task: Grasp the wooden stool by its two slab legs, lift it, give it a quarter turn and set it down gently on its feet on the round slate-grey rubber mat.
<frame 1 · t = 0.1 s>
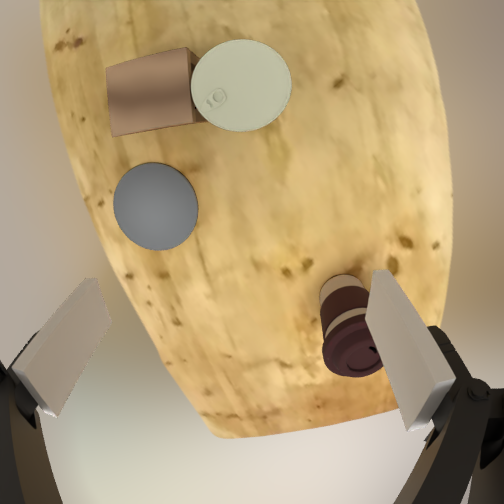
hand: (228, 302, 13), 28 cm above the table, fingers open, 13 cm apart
wooden stool: (174, 97, 34), on the table
coffee cup: (340, 292, 46), on the table
rubber mat: (154, 207, 40), on the table
can: (247, 94, 34), on the table
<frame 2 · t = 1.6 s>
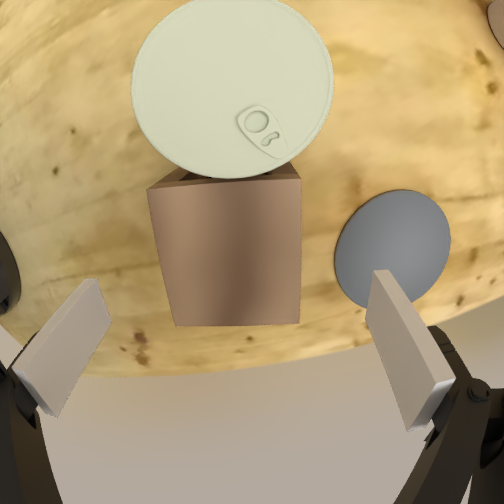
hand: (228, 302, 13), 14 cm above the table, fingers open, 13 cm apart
wooden stool: (239, 208, 25), on the table
rubber mat: (396, 253, 27), on the table
can: (243, 97, 21), on the table
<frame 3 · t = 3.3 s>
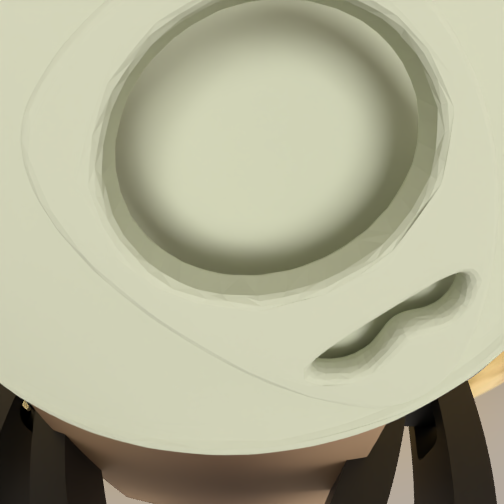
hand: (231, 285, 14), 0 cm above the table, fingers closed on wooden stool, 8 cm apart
wooden stool: (232, 281, 15), on the table, touching gripper
can: (236, 79, 11), on the table
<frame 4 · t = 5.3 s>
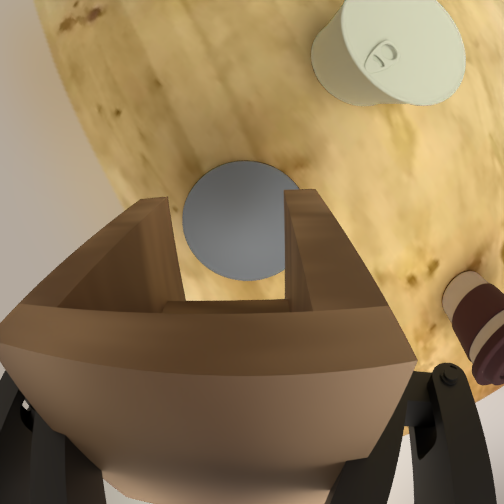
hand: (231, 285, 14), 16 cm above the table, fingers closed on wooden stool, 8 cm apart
wooden stool: (232, 281, 15), point 16 cm above the table, touching gripper
coffee cup: (460, 291, 34), on the table
rubber mat: (245, 223, 30), on the table
can: (357, 62, 23), on the table
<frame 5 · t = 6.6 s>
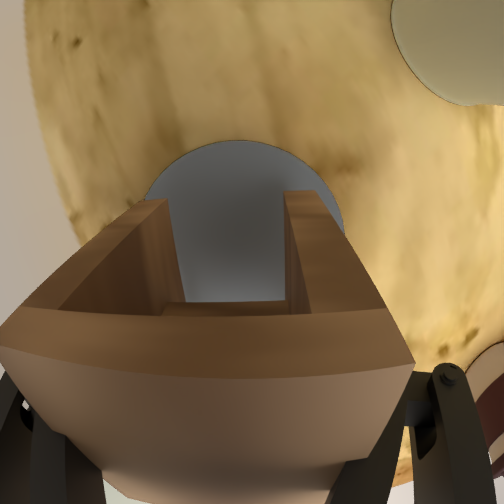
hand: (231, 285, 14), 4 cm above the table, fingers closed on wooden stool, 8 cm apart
wooden stool: (232, 282, 15), point 4 cm above the table, touching gripper
coffee cup: (486, 363, 24), on the table
rubber mat: (239, 246, 19), on the table
can: (449, 41, 12), on the table
when the fingers open (1 cm above the table, at t = 7.6 s): wooden stool stays where it is, resting on rubber mat.
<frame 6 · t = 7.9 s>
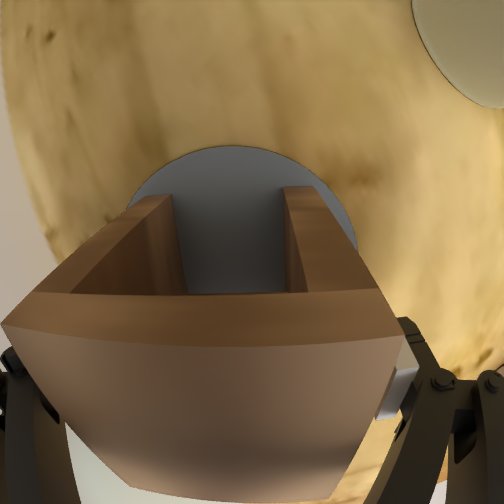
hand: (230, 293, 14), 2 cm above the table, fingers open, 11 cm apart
wooden stool: (233, 275, 15), point 1 cm above the table, touching rubber mat
rubber mat: (234, 270, 16), on the table
can: (474, 34, 9), on the table
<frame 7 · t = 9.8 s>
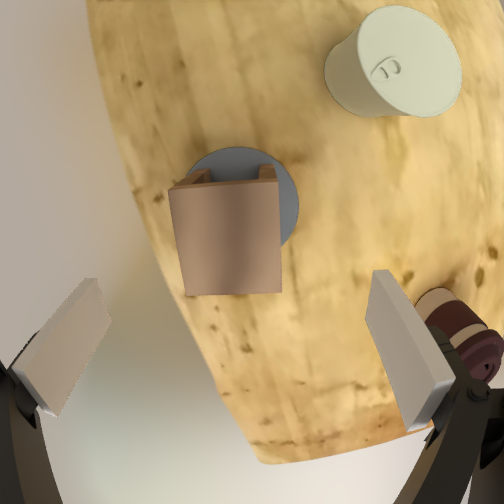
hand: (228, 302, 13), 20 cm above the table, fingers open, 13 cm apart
wooden stool: (237, 207, 31), point 1 cm above the table, touching rubber mat
coffee cup: (431, 306, 37), on the table
rubber mat: (238, 206, 32), on the table
can: (364, 77, 26), on the table
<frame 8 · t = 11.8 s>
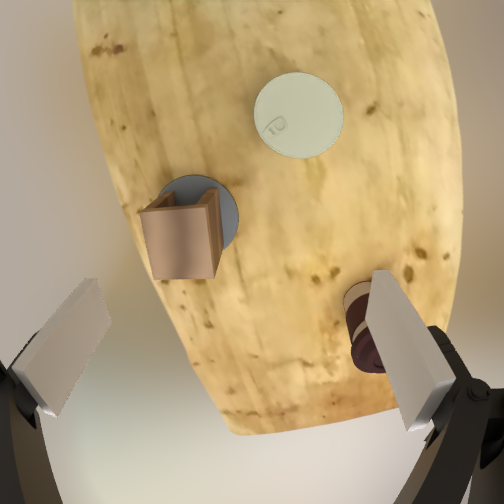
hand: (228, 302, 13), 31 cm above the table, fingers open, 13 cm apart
wooden stool: (194, 218, 43), point 1 cm above the table, touching rubber mat
coffee cup: (362, 297, 49), on the table
rubber mat: (195, 217, 44), on the table
can: (289, 116, 37), on the table
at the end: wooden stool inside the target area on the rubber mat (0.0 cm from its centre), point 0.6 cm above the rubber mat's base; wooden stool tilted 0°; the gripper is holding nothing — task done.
